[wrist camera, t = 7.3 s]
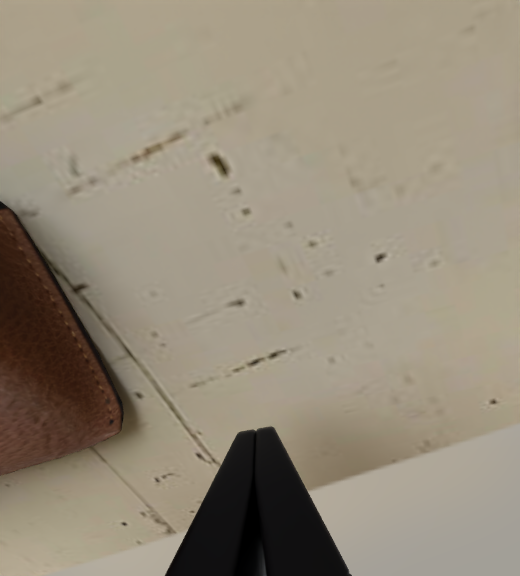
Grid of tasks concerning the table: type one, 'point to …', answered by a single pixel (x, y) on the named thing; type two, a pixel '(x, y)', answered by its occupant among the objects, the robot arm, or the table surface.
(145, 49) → the table surface
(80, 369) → the sunglasses case
